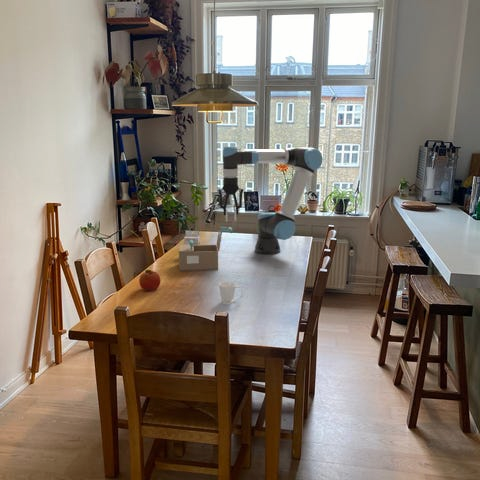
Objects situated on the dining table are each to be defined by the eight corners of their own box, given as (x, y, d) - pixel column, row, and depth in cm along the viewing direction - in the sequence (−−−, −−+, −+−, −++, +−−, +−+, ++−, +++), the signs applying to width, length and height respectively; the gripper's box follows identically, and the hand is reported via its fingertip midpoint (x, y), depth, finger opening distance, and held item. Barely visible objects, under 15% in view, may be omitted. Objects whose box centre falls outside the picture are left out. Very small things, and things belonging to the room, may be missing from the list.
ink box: (183, 257, 265) (183, 232, 261) (185, 255, 269) (184, 230, 266) (198, 258, 264) (198, 232, 260) (200, 255, 269) (199, 230, 265)
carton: (216, 262, 256) (216, 244, 253) (218, 269, 242) (218, 251, 240) (179, 263, 253) (179, 245, 251) (179, 271, 240) (178, 252, 237)
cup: (219, 299, 201) (219, 281, 199) (242, 299, 201) (242, 281, 199) (218, 305, 195) (218, 286, 193) (242, 305, 194) (242, 286, 192)
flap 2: (216, 244, 253) (228, 246, 254) (218, 250, 240) (231, 252, 241) (219, 225, 251) (231, 227, 252) (221, 231, 238) (234, 232, 239)
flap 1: (179, 252, 237) (178, 243, 236) (179, 245, 251) (178, 237, 249) (193, 252, 238) (193, 242, 237) (193, 245, 251) (193, 236, 250)
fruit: (164, 286, 217) (163, 266, 214) (156, 293, 208) (155, 272, 205) (144, 285, 219) (143, 265, 216) (136, 292, 210) (135, 271, 207)
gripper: (245, 175, 246) (246, 219, 252) (213, 176, 244) (214, 220, 250) (247, 177, 239) (247, 222, 245) (214, 178, 237) (215, 223, 243)
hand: (231, 221), depth 247 cm, fingers open, 4 cm apart
